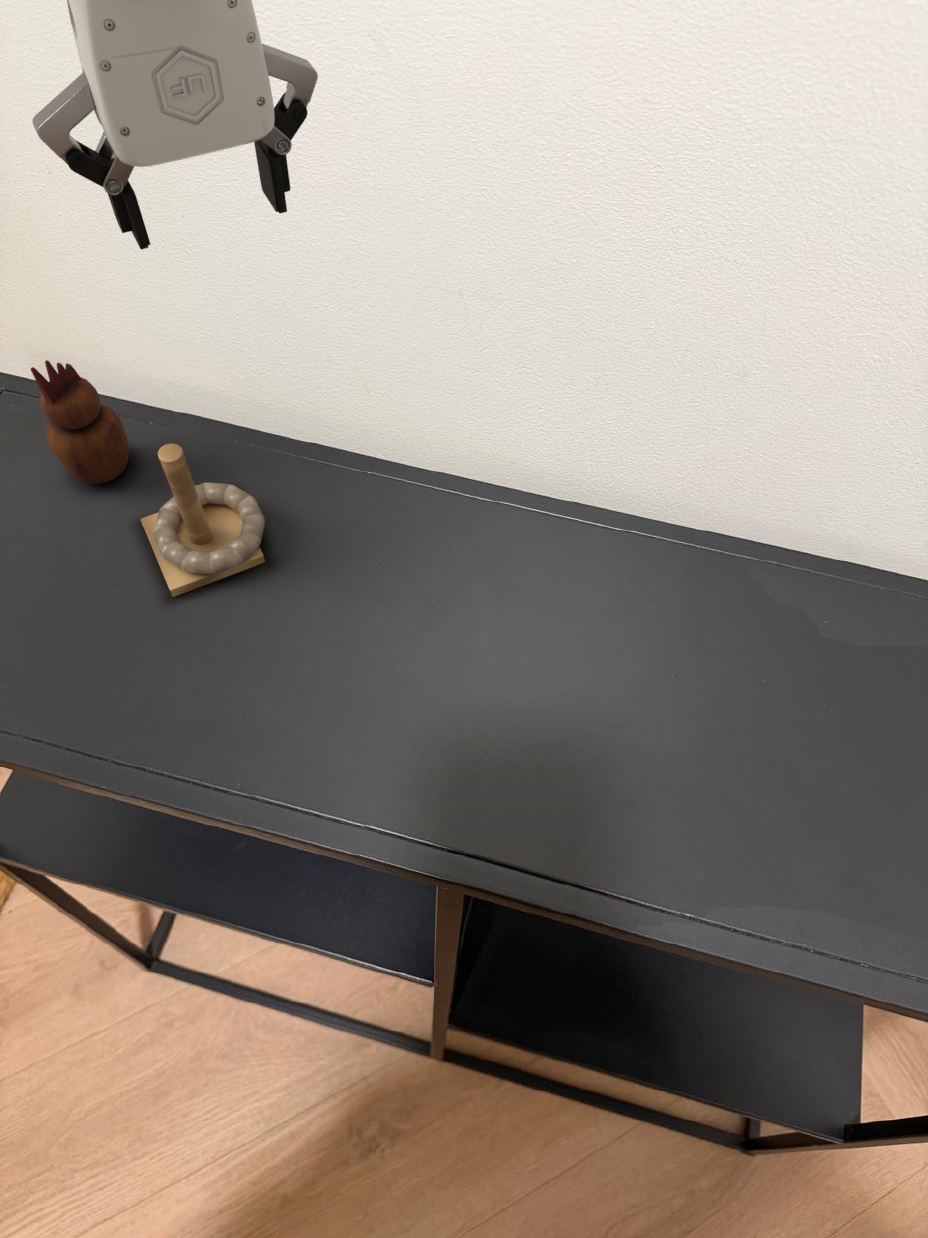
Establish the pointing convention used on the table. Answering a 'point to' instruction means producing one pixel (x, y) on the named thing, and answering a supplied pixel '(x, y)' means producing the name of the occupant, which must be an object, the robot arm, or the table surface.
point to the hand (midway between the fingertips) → (208, 218)
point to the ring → (220, 558)
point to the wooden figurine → (81, 426)
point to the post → (195, 525)
